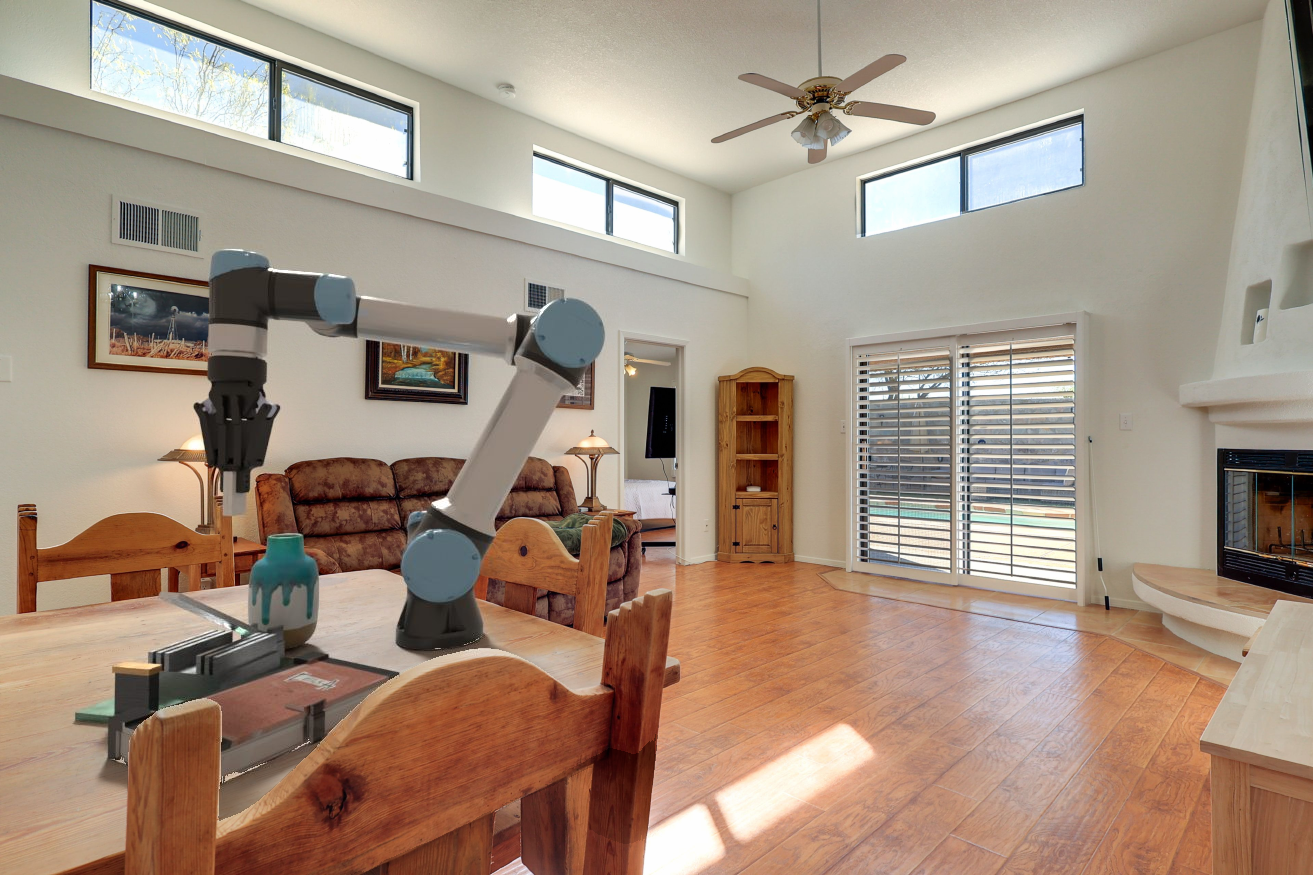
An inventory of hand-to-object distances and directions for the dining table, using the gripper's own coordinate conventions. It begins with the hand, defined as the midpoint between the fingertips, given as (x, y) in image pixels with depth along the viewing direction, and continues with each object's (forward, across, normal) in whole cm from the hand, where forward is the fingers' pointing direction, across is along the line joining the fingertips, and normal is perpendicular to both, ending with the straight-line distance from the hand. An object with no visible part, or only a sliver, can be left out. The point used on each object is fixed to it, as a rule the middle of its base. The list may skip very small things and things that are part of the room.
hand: (234, 514), depth 99 cm
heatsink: (+24, 0, +5) cm, 25 cm away
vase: (+25, +3, -14) cm, 29 cm away
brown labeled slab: (+25, -18, +13) cm, 34 cm away
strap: (+15, 0, +3) cm, 15 cm away
